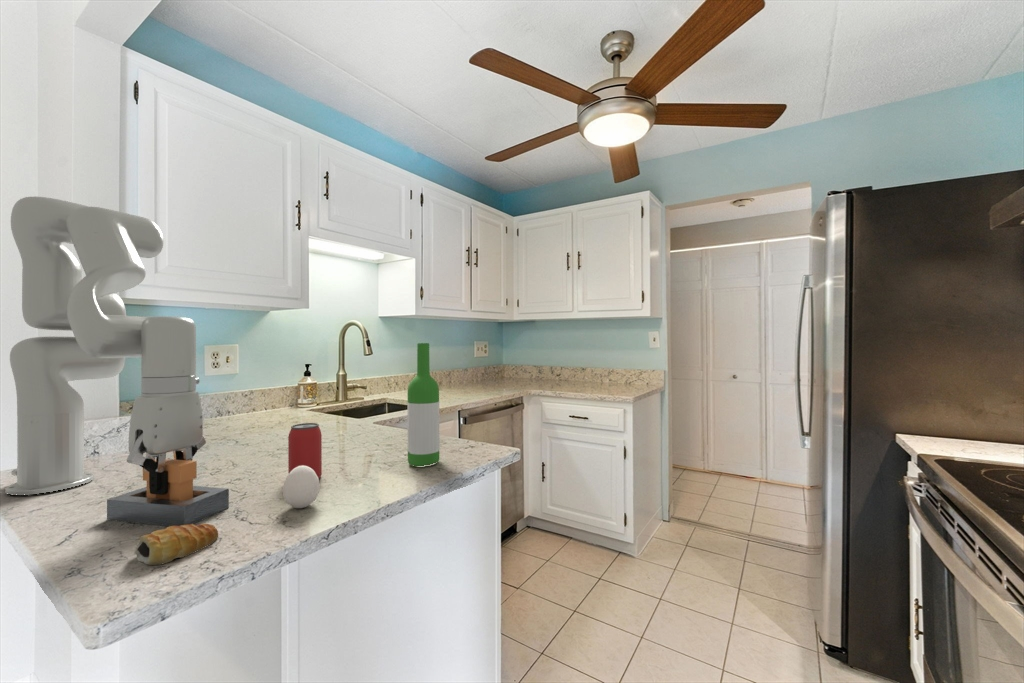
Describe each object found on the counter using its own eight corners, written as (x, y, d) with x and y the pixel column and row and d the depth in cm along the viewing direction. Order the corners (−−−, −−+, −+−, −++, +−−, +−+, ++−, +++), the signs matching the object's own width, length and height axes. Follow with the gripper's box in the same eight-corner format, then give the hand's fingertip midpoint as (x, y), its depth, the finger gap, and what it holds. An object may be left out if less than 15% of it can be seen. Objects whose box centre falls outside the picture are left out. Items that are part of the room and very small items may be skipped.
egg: (324, 507, 77) (324, 466, 77) (287, 517, 73) (287, 473, 73) (314, 498, 82) (313, 459, 82) (279, 506, 78) (278, 465, 78)
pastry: (205, 533, 67) (205, 509, 67) (227, 543, 64) (228, 518, 64) (130, 559, 59) (130, 532, 59) (151, 572, 56) (151, 544, 56)
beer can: (308, 485, 89) (308, 428, 89) (281, 483, 90) (281, 427, 90) (327, 475, 96) (327, 422, 96) (302, 474, 97) (302, 421, 97)
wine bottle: (433, 458, 110) (433, 343, 110) (444, 465, 103) (443, 343, 103) (403, 462, 106) (403, 343, 106) (412, 470, 99) (412, 343, 99)
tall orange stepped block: (142, 506, 74) (142, 463, 74) (160, 499, 77) (160, 458, 77) (180, 509, 72) (180, 465, 72) (196, 502, 75) (196, 461, 75)
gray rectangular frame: (106, 519, 72) (106, 499, 72) (157, 501, 80) (157, 483, 80) (184, 527, 69) (184, 506, 69) (228, 507, 77) (228, 488, 77)
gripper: (195, 381, 83) (195, 474, 83) (99, 391, 67) (99, 506, 67) (227, 382, 82) (227, 476, 82) (137, 392, 66) (137, 509, 66)
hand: (169, 489), depth 75 cm, fingers closed on tall orange stepped block, 3 cm apart
